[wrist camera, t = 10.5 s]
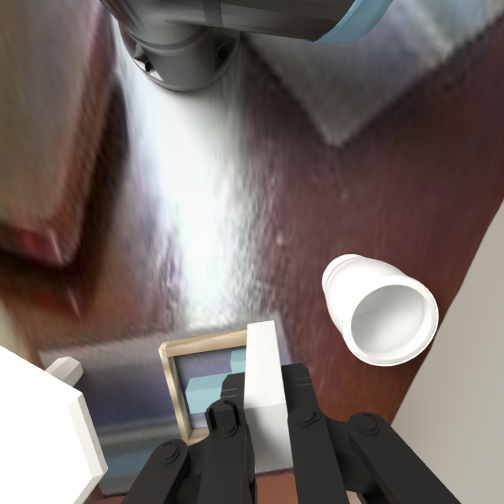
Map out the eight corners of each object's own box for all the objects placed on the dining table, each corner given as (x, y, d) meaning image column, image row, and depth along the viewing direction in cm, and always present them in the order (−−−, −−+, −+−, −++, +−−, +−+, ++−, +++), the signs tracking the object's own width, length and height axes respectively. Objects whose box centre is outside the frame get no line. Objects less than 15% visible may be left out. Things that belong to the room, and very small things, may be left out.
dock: (163, 341, 49) (158, 349, 47) (253, 327, 49) (253, 335, 46) (187, 437, 54) (184, 449, 51) (271, 425, 53) (271, 437, 50)
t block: (184, 357, 50) (179, 370, 47) (255, 346, 50) (255, 358, 46) (199, 418, 53) (195, 434, 49) (267, 408, 52) (268, 424, 49)
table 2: (-13, 274, 47) (-154, 321, 31) (163, 311, 48) (117, 376, 32) (-18, 422, 53) (-138, 527, 37) (139, 452, 54) (90, 566, 38)
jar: (362, 320, 48) (409, 379, 34) (303, 297, 48) (326, 347, 33) (393, 261, 46) (458, 297, 32) (333, 236, 45) (371, 261, 31)
